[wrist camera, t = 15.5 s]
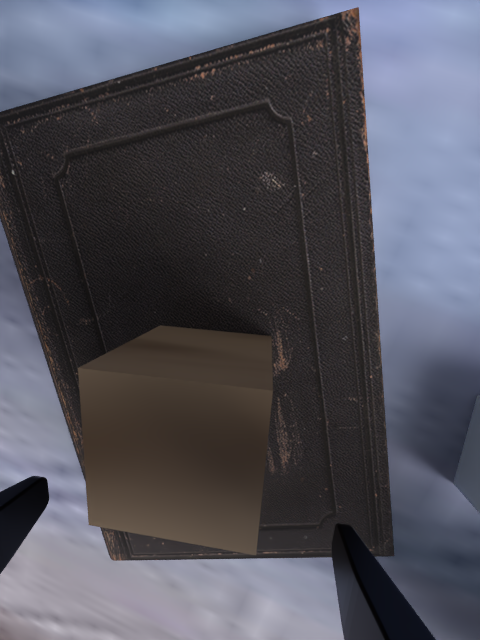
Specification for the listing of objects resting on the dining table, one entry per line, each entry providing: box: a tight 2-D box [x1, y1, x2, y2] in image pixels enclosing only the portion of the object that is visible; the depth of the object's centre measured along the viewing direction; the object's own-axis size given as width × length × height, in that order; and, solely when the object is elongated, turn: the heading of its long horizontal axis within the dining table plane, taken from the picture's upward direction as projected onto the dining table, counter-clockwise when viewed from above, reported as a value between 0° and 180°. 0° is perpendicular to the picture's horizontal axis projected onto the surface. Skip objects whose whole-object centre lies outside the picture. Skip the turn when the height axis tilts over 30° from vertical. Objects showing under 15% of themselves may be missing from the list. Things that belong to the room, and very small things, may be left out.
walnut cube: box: [78, 325, 273, 555], centre depth 9 cm, size 5×5×5 cm
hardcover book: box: [0, 7, 394, 560], centre depth 13 cm, size 16×23×2 cm
